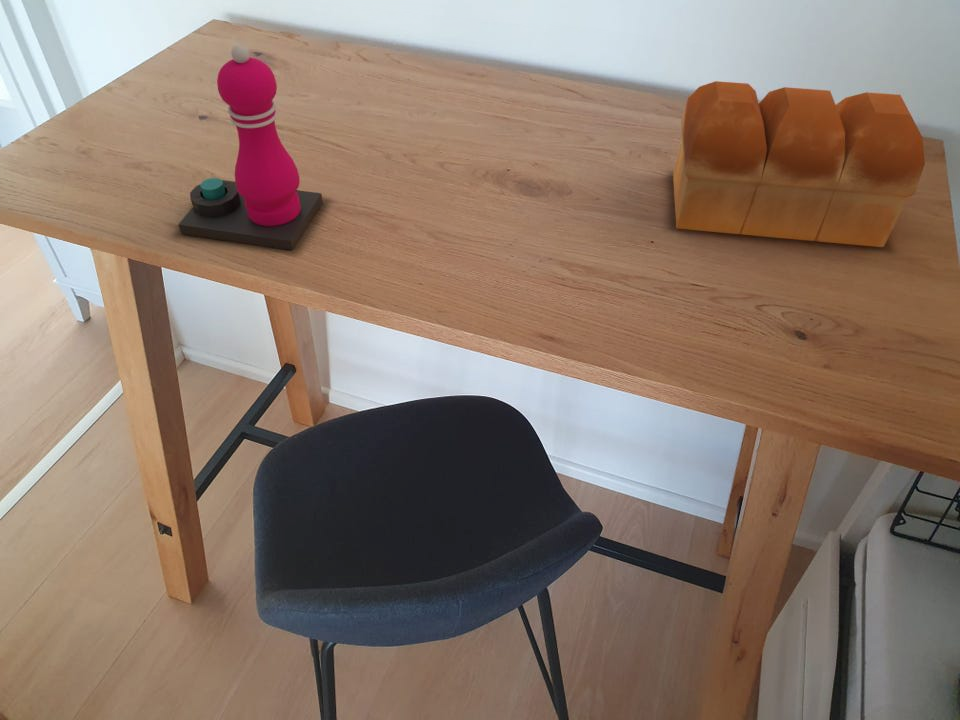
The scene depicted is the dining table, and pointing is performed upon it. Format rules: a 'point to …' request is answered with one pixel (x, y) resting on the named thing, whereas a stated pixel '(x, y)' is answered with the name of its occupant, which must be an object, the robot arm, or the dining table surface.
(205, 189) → the button
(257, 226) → the dark button base
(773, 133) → the bread
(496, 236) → the dining table surface
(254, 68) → the pepper mill
